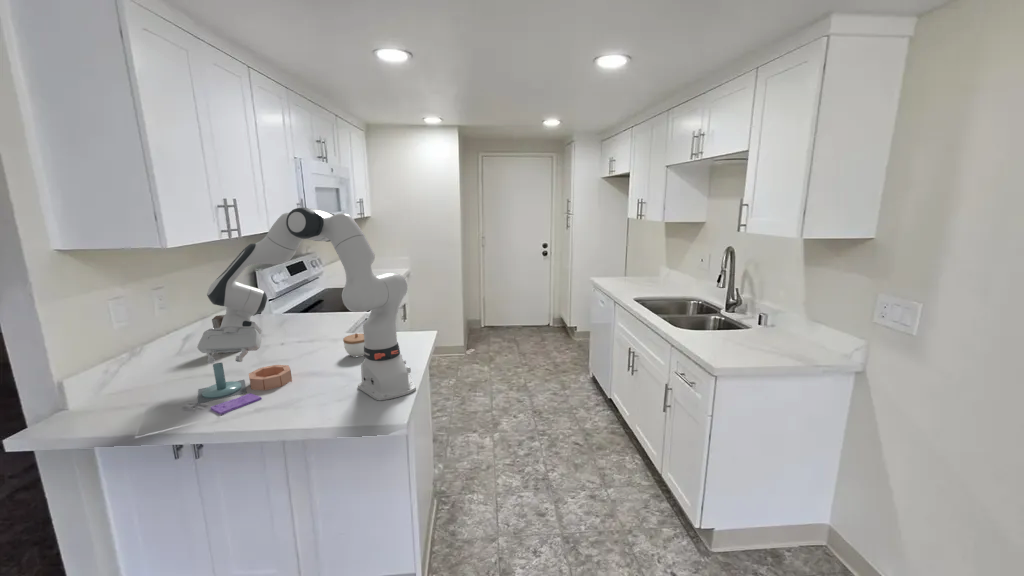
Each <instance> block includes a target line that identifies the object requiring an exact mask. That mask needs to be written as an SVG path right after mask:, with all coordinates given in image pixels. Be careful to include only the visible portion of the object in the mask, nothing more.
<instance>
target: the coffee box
mask: <svg viewBox="0 0 1024 576" xmlns="http://www.w3.org/2000/svg"><path fill="white" fill-rule="evenodd" d="M224 316H225V314H220V315H215V316H214V317H213V318H212V319H211V323H212V326H213V327H212V329H216V328H220V326H221V323H222V320H223V317H224ZM237 352H239V351H236V352H235V353H237ZM222 353H223V354H229V353H230V354H231V352H217V354H218V355H221V354H222ZM223 354H222V355H223Z"/></svg>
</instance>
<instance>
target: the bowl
mask: <svg viewBox="0 0 1024 576" xmlns="http://www.w3.org/2000/svg"><path fill="white" fill-rule="evenodd" d="M248 378H249V384H250V389H251V390H254V391H255V390H256V391H269V390H272V389H276V388H281V387H283V386H285V385H286V384H288V383H292V382H293V377H292V371H291V368H290V366H289V365H287V364H273V365H268V366H263V367H260V368H257V369H255V370H253V371H251V372H250V373H248Z"/></svg>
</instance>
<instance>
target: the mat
mask: <svg viewBox="0 0 1024 576" xmlns="http://www.w3.org/2000/svg"><path fill="white" fill-rule="evenodd" d="M235 381H236V382H240V383H241V386H242V388H241V389H240V390H239V391H237V392H236V393H233V394H231V395H228V396H224V397H220V398H204V397H203V396H202V391H203V390H204V389H206V388H207V387H208V386H207V387H201V388H198V391H197V401H196V402H197V405H201V404H204V403H209V402H213V401H218V400H222V399H226V398H230V397H235V396H239V395H243V394H248V393H247V392H248V391H247V387H246V381H245V379H240V380H235Z"/></svg>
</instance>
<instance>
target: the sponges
mask: <svg viewBox="0 0 1024 576" xmlns="http://www.w3.org/2000/svg"><path fill="white" fill-rule="evenodd" d="M261 400H262V397H261V396H259V395H256V394H253V393H251V392H249V393H245V395H241V396H239V397H236V398H232V399H230V400H226V401H223V402H221V403H218V404H215V405H211V406H210V410H211V411H213V412H215V413H217V414H219V415H224V414H228V413H230V412H232V411H235V410H237V409H240V408H243V407H244V406H247V405H250V404H253V403H255V402H258V401H261Z"/></svg>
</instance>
